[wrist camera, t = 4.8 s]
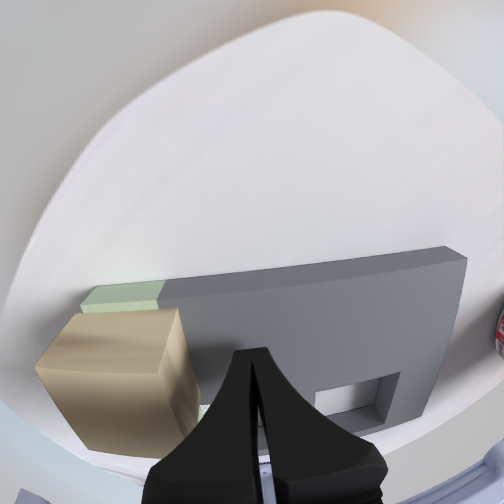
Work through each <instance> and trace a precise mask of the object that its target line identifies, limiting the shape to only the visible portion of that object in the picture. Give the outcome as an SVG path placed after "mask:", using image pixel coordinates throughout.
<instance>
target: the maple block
mask: <svg viewBox="0 0 504 504" xmlns="http://www.w3.org/2000/svg"><path fill="white" fill-rule="evenodd" d="M33 367H34V369H35V371H36V373H37V375H38V376H39V378H40V380H41V382H42V383H43V385H44V387H45V388H46V390H47V392H48V393H49V395H50V396H51V398H52V400H53V401H54V403H55V404H56V406H57V407H58V409H59V410H60V412H61V413H62V415H63V416H64V418H65V419H66V421H67V422H68V423H69V425H70V426H71V428H72V429H73V430H74V432H75V433H76V434H77V436H78V437H79V438H80V440H81V441H82V442H83V443H84V445H85V446H86V447H87V448H88V450H92V451H98V452H104V453H110V454H117V455H125V456H133V457H143V458H156V459H163V458H164V457H165V456H167V455H168V454H169V453H170V452H171V451H172V450H174V449H175V448H176V447H177V446H178V445H179V444H180V443H181V442H182V441H183V440H184V439H185V438H186V437H187V436H188V435H189V433H190V432H191V431H192V430H193V429H194V427H195V426H196V425H197V424H198V417H199V406H200V396H201V394H200V390H199V387H198V384H197V380H196V377H195V373H194V370H193V366H192V362H191V359H190V355H189V351H188V348H187V344H186V340H185V336H184V332H183V328H182V324H181V320H180V316H179V311H178V308H166V309H153V310H138V311H121V312H101V313H76V314H75V315H74V316H73V317H72V318H71V320H70V321H69V322H68V323H67V324H66V326H65V327H64V328H63V329H62V330H61V332H60V333H59V334H58V335H57V337H56V338H55V339H54V340H53V342H52V343H51V344H50V345H49V347H48V348H47V349H46V350H45V352H44V353H43V354H42V356H41V357H40V358H39V360H38V361H37V362H36V364H35V365H34V366H33Z"/></svg>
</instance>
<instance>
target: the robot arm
mask: <svg viewBox="0 0 504 504" xmlns="http://www.w3.org/2000/svg"><path fill="white" fill-rule="evenodd" d="M258 408H259V412H260V416H261V421H262V425H263V429H264V433H265V437H266V441H267V445H268V450H269V456H270V463H271V464H263V465H259V458H258ZM387 472H388V467H387V465H386V462H385V460H384V458H383V457H382V455H381V454H380V452H379V451H378V449H377V448H376V447H375V445H374V444H373V443H370V442H368V441H366V440H364V439H362V438H360V437H358V436H356V435H354V434H352V433H350V432H348V431H347V430H345V429H343V428H341V427H340V426H338V425H337V424H335V423H334V422H333V421H331V420H330V419H328V418H327V417H325V416H324V415H323V414H321V413H320V412H319V411H318V410H317V409H315V408H314V407H313V406H312V405H311V404H310V403H309V402H307V401H306V400H305V399H304V398H303V397H302V396H301V395H300V394H299V392H298V391H297V390H296V389H295V388H294V387H293V386H292V385H291V383H290V382H289V381H288V380H287V378H286V377H285V376H284V374H283V373H282V372H281V370H280V369H279V367H278V366H277V364H276V362H275V361H274V359H273V357H272V355H271V353H270V351H269V349H268V348H267V347H259V348H251V349H241V350H235V351H234V352H233V356H232V360H231V363H230V366H229V369H228V371H227V374H226V376H225V378H224V381H223V383H222V385H221V387H220V389H219V391H218V393H217V395H216V397H215V398H214V400H213V402H212V404H211V405H210V407H209V408H208V410H207V411H206V413H205V414H204V416H203V417H202V419H201V420H200V421H199V422H198V424H197V425H196V426H195V427H194V429H193V430H192V431H191V432H190V433H189V435H188V436H187V437H186V438H185V439H184V440H183V441H182V442H181V443H180V444H179V445H178V446H177V447H176V448H175V449H174V450H172V451H171V452H170V453H169V454H168V455H167V456H165V457H164V458H163V459H162V460H160V461H159V462H158V463H156V464H155V465H154V466H153V467H151V468H150V471H149V473H148V476H147V479H146V481H145V484H144V489H143V495H142V501H141V504H383V502H382V499H381V497H382V496H383V493H382V491H381V488H380V485H381V483H382V481H383V480H384V478H385V476H386V475H387ZM503 502H504V439H502V440H501V441H500V442H498V443H497V444H496V445H494V446H493V447H492V448H491V449H490V450H489V451H488V452H487V454H486V455H485V456H484V458H483V459H482V460H480V461H479V462H477V463H476V464H474V465H473V466H471V467H469V468H468V469H466V470H464V471H462V472H461V473H459V474H457V475H456V476H454V477H452V478H450V479H448V480H447V481H445V482H443V483H441V484H439V485H437V486H435V487H433V488H431V489H429V490H427V491H425V492H422V493H420V494H418V495H416V496H414V497H411V498H409V499H407V500H404V501H402V502H400V503H397V504H502V503H503ZM15 504H51V503H50V502H49V501H47V500H46V499H44V498H42V497H40V496H38V495H36V494H33V493H31V492H29V491H26V490H24V489H20V491H19V494H18V496H17V499H16V502H15Z"/></svg>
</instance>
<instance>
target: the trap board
mask: <svg viewBox="0 0 504 504" xmlns="http://www.w3.org/2000/svg"><path fill="white" fill-rule="evenodd" d="M467 259H468V258H467V257H465V256H463V255H461V254H459V253H457V252H456V251H454V250H452V249H450V248H448V247H446V246H443V247H436V248H429V249H422V250H415V251H408V252H401V253H394V254H386V255H379V256H371V257H364V258H356V259H348V260H340V261H332V262H324V263H316V264H308V265H300V266H291V267H283V268H274V269H265V270H256V271H247V272H238V273H229V274H220V275H210V276H201V277H191V278H181V279H171V280H160V281H150V282H139V283H128V284H117V285H106V286H97V287H96V288H95V289H94V290H93V291H92V292H91V293H90V294H89V295H88V297H87V298H86V299H85V300H84V301H83V302H82V303H81V304H80V306H81V309H82V312H83V313H101V312H121V311H138V310H153V309H166V308H178V311H179V316H180V320H181V324H182V328H183V332H184V336H185V340H186V344H187V348H188V351H189V355H190V359H191V362H192V366H193V370H194V373H195V377H196V380H197V384H198V387H199V390H200V394H201V396H200V405H208V404H212V402H213V400H214V398H215V397H216V395H217V393H218V391H219V389H220V387H221V385H222V383H223V381H224V378H225V376H226V374H227V371H228V369H229V366H230V363H231V360H232V356H233V352H234V351H235V350H241V349H251V348H259V347H267V348H268V349H269V351H270V353H271V355H272V357H273V359H274V361H275V362H276V364H277V366H278V367H279V369H280V370H281V372H282V373H283V374H284V376H285V377H286V378H287V380H288V381H289V382H290V383H291V385H292V386H293V387H294V388H295V389H296V390H297V391H298V392H299V394H300V395H301V396H302V397H303V398H304V399H305V400H306V401H307V402H309V403H310V404H311V405H312V406H313V407H314V406H315V392H318V391H323V390H328V389H333V388H338V387H342V386H347V385H351V384H356V383H360V382H364V381H368V380H372V379H375V378H379V377H381V379H380V384H379V388H378V392H377V395H376V399H375V403H374V405H370V406H367V407H363V408H359V409H355V410H351V411H347V412H343V413H339V414H334V415H329V416H325V417H327V418H328V419H330V420H331V421H333V422H334V423H335V424H337V425H338V426H340V427H341V428H343V429H345V430H347V431H348V432H350V433H352V434H354V435H356V436H358V437H361V436H365V435H368V434H372V433H375V432H378V431H381V430H385V429H388V428H391V427H394V426H396V425H399V424H402V423H405V422H408V421H410V420H413V419H416V418H418V417H421V415H422V413H423V411H424V409H425V406H426V404H427V402H428V399H429V397H430V394H431V392H432V389H433V387H434V384H435V382H436V379H437V376H438V374H439V371H440V368H441V365H442V362H443V359H444V356H445V353H446V350H447V347H448V344H449V340H450V337H451V333H452V330H453V326H454V322H455V319H456V315H457V311H458V306H459V302H460V297H461V293H462V288H463V283H464V277H465V272H466V266H467ZM202 417H203V413H202V410H201V407H200V406H199V417H198V422H199V421H200V420H201V419H202ZM262 455H269V450H268V445H267V441H266V437H265V433H264V429H263V426H262V427H258V456H262Z"/></svg>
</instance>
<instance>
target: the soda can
mask: <svg viewBox="0 0 504 504" xmlns="http://www.w3.org/2000/svg"><path fill="white" fill-rule="evenodd" d="M495 348H496V350H497V352H498V353H499V354H500V355H501V356H502V358H503V359H504V308H503V310H502V312H501V314H500V317H499V320H498V323H497V328H496V336H495Z"/></svg>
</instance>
